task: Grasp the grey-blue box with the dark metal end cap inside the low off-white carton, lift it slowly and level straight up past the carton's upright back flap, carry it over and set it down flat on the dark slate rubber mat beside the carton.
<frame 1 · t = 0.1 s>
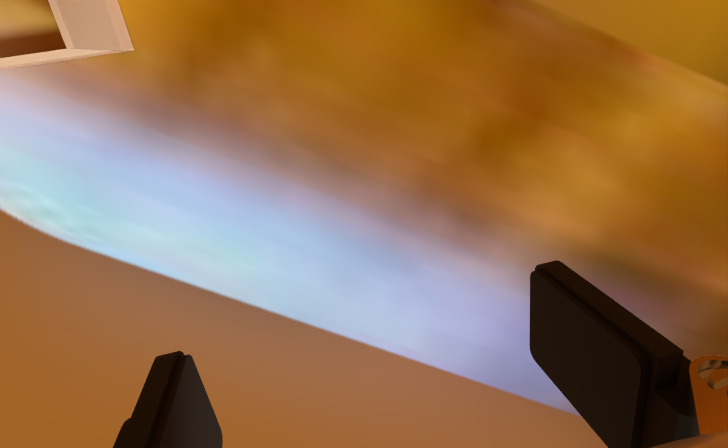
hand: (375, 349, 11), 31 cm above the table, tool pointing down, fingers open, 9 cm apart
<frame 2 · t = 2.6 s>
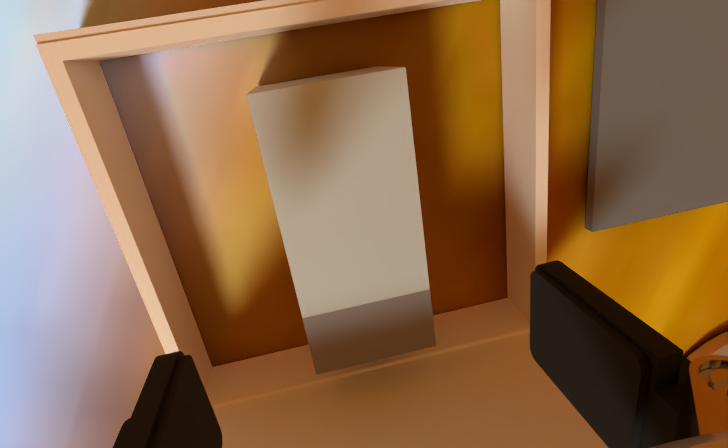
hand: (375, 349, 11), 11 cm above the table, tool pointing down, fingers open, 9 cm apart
carton: (341, 201, 21), on the table
slate mat: (692, 54, 21), on the table
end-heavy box: (341, 200, 21), resting in carton
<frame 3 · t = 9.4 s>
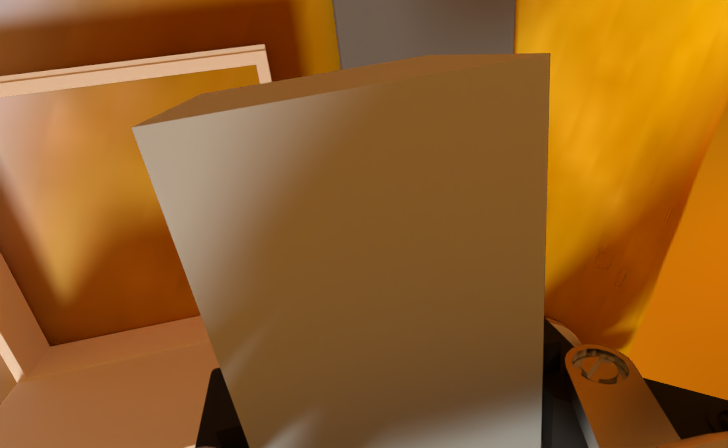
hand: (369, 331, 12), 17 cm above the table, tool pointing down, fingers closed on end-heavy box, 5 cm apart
carton: (146, 215, 26), on the table
slate mat: (429, 107, 27), on the table
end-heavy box: (358, 287, 12), point 16 cm above the table, touching gripper
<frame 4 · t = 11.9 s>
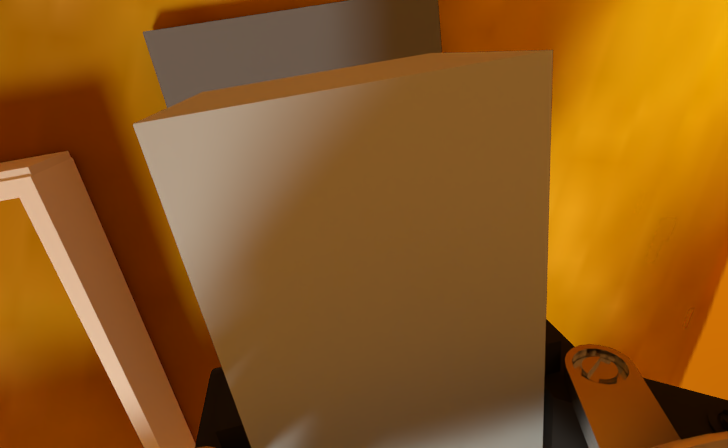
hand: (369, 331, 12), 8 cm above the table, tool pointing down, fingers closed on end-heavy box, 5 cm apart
slate mat: (334, 214, 19), on the table
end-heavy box: (358, 286, 12), point 7 cm above the table, touching gripper
when the fingers open (2 cm above the table, at t = 14.2 s): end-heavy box stays where it is, resting on slate mat.
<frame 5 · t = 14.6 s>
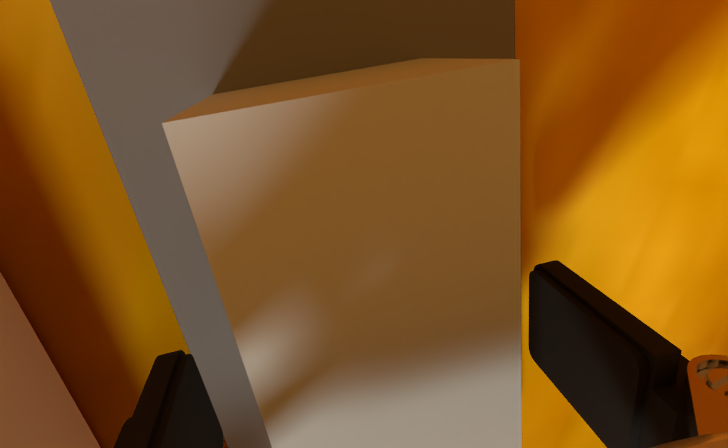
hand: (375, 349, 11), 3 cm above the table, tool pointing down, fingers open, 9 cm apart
slate mat: (350, 264, 14), on the table
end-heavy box: (356, 274, 13), point 1 cm above the table, touching slate mat
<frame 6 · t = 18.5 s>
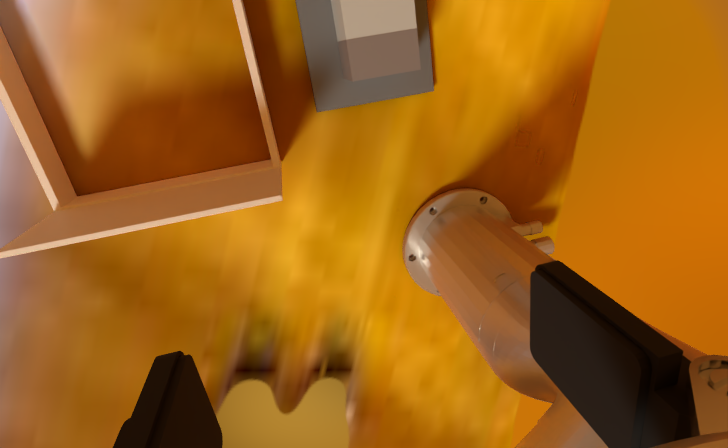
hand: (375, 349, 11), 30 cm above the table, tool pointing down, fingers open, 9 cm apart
carton: (146, 85, 35), on the table
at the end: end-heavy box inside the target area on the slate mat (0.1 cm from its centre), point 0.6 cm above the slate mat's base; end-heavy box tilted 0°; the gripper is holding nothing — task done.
